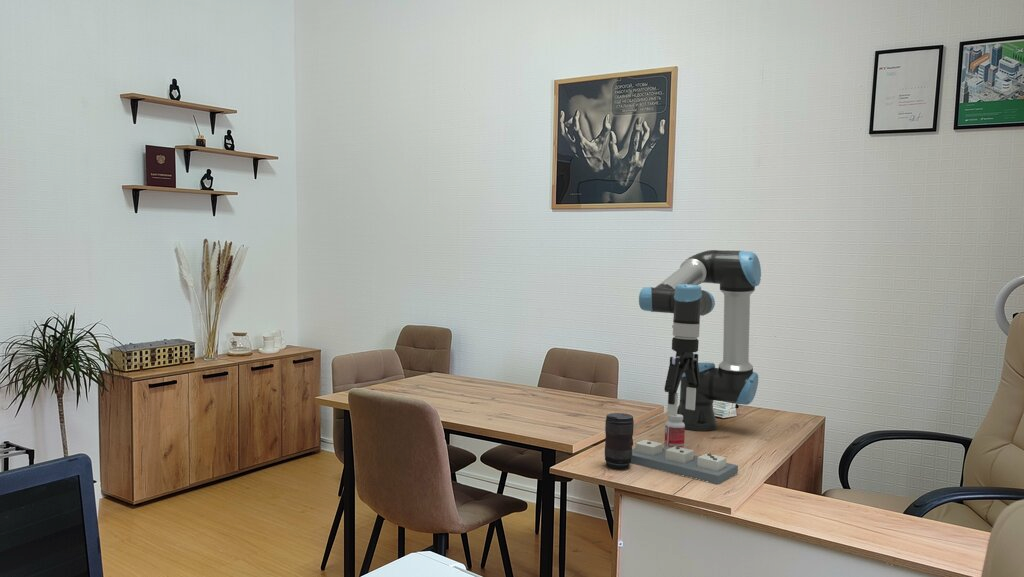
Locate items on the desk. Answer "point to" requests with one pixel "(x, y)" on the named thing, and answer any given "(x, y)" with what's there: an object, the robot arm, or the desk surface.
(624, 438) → the camera lens
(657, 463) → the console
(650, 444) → the tile
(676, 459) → the tile
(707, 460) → the tile
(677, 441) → the pill bottle
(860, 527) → the desk surface
